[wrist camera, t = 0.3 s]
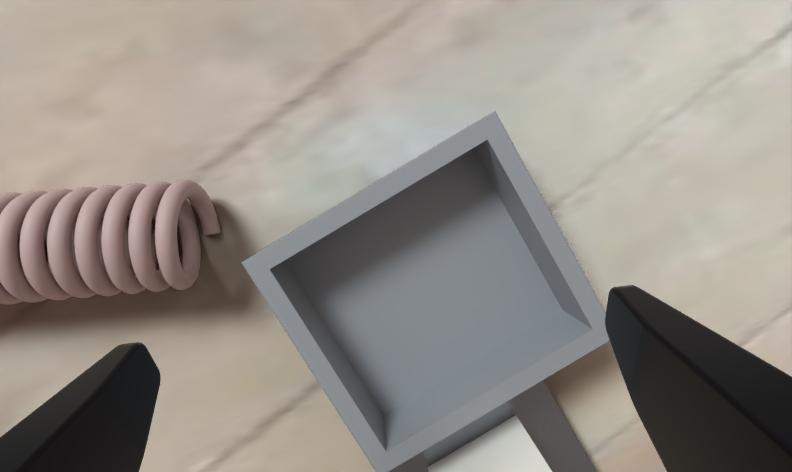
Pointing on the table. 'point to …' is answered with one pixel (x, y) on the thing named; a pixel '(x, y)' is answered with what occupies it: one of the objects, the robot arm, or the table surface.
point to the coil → (101, 240)
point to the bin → (432, 295)
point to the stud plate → (538, 421)
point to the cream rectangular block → (496, 452)
